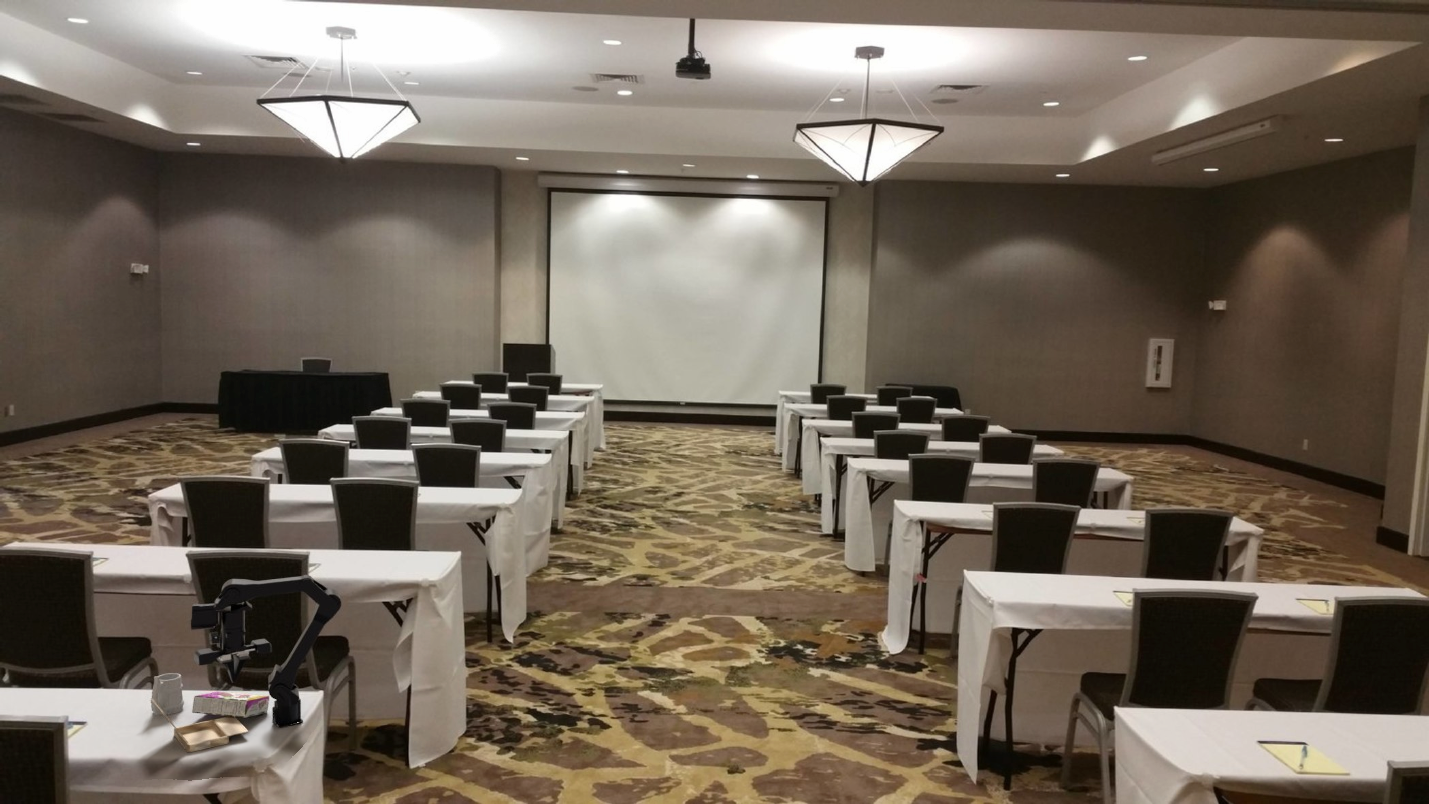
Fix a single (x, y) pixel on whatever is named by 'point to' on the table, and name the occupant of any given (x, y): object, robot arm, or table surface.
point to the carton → (208, 733)
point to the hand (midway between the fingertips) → (233, 682)
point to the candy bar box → (230, 704)
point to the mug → (167, 694)
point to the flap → (169, 720)
